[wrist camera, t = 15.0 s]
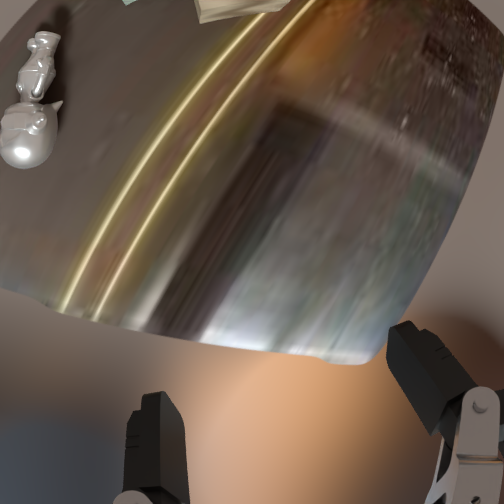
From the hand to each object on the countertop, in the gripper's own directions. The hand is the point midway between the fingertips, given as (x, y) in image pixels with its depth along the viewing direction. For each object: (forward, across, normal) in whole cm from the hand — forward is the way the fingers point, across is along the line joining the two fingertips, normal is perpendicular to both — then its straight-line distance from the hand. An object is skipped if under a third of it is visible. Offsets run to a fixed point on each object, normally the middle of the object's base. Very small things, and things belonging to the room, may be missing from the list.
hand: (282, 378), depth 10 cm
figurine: (+30, +17, -15) cm, 38 cm away
